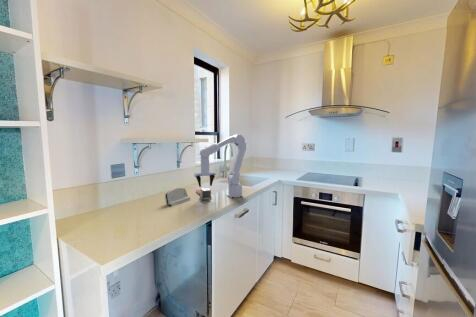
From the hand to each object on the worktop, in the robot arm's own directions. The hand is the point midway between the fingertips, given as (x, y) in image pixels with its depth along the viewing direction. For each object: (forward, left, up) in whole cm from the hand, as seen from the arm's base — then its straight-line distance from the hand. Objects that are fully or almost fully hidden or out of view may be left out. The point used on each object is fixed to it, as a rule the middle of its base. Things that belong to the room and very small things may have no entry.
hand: (205, 186), depth 145 cm
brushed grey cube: (0, 0, -7) cm, 7 cm away
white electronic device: (+19, 0, -9) cm, 21 cm away
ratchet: (0, -9, -9) cm, 12 cm away
